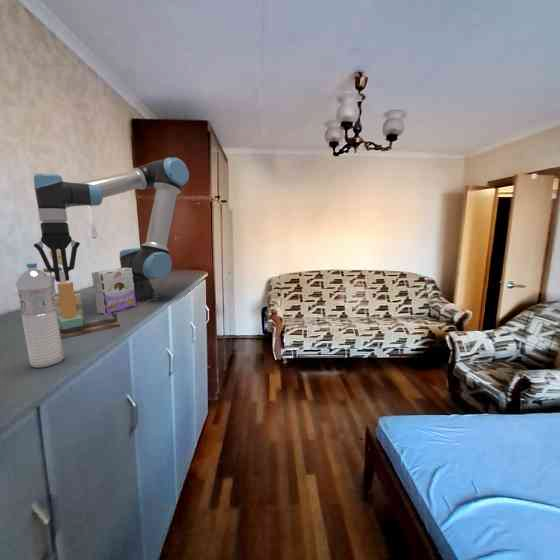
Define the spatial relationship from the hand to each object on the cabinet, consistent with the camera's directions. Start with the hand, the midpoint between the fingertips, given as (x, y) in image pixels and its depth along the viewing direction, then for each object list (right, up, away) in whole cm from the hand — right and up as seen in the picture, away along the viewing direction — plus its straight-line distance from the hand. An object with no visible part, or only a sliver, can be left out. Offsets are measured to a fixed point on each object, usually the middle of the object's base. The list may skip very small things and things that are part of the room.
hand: (64, 290), depth 106 cm
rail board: (+12, -13, -7) cm, 19 cm away
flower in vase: (-18, -8, +21) cm, 29 cm away
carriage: (+9, -11, -10) cm, 17 cm away
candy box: (+10, -9, +17) cm, 21 cm away
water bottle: (+17, -17, -30) cm, 39 cm away
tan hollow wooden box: (0, -11, +2) cm, 12 cm away
